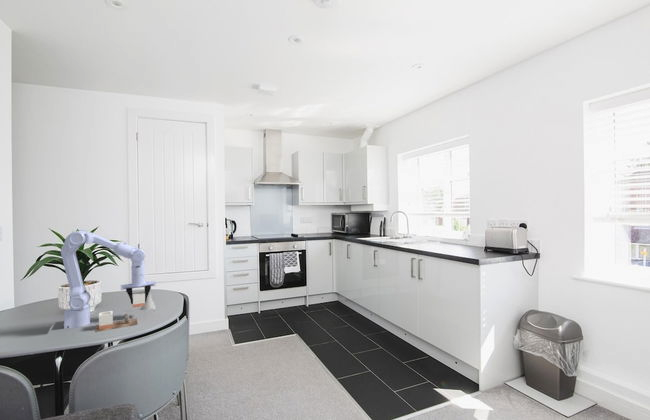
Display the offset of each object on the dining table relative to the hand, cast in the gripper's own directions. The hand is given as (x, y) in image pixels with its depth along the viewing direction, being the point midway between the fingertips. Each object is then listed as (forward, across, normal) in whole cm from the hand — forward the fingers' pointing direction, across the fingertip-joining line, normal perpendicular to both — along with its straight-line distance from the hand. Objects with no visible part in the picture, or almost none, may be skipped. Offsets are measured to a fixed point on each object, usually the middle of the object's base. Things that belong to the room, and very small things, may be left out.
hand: (138, 302), depth 159 cm
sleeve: (+1, 0, 0) cm, 1 cm away
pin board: (+8, -9, -7) cm, 14 cm away
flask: (+9, +5, +13) cm, 16 cm away
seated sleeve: (+7, -13, -7) cm, 16 cm away
